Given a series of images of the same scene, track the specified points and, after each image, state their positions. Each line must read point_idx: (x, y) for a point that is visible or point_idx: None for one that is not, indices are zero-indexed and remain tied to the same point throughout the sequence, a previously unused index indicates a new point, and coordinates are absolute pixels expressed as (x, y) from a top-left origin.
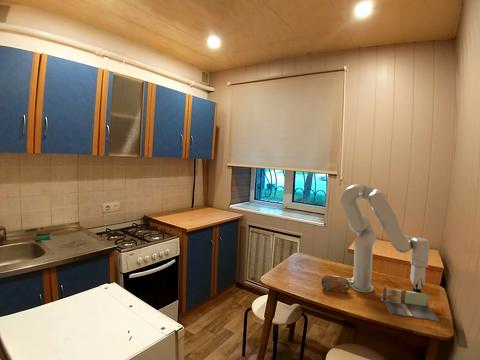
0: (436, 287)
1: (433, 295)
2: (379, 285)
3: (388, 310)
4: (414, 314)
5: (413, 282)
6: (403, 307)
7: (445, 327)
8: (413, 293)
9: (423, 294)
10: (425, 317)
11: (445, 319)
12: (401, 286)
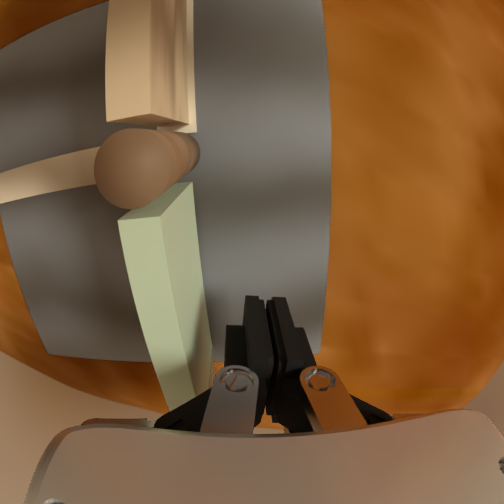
0: (462, 401)
1: (393, 396)
2: (478, 55)
3: (15, 41)
4: (24, 222)
5: (45, 470)
6: (85, 148)
7: (18, 351)
8: (143, 312)
9: (169, 407)
10: (29, 287)
11: (94, 386)
12: (496, 234)
